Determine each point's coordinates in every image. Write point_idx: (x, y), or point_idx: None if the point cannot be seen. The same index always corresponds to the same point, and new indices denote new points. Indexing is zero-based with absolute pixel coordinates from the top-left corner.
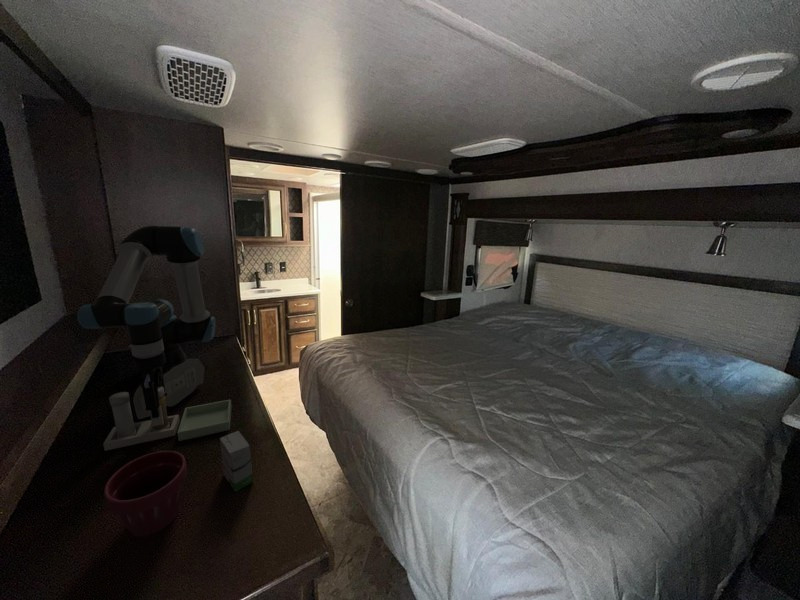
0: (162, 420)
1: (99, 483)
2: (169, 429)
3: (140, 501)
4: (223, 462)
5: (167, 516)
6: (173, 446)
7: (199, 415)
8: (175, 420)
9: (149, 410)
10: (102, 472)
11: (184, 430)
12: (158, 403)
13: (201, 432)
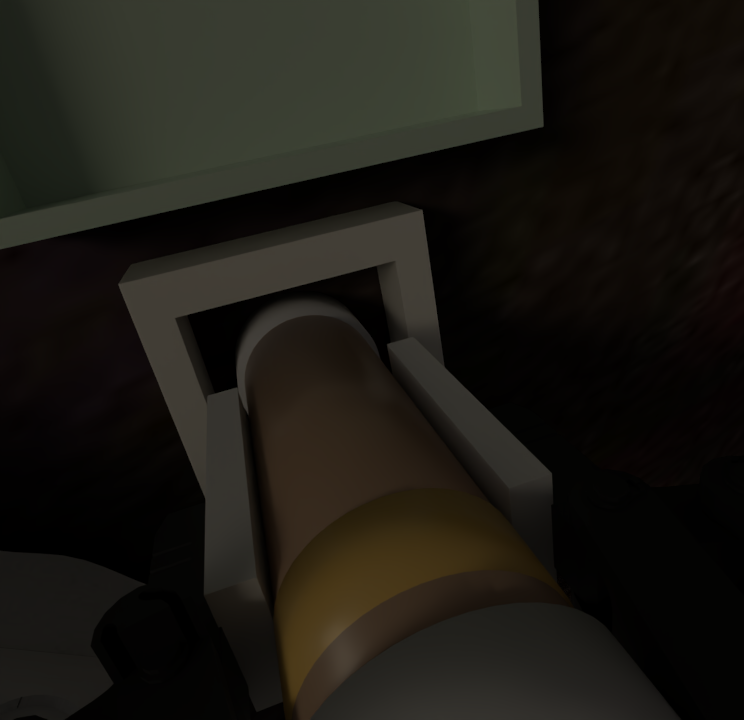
0: (431, 356)
1: (717, 430)
2: (417, 256)
3: None
4: None
5: None
6: (545, 148)
7: (46, 31)
8: (251, 268)
9: (85, 619)
10: (641, 469)
11: (527, 52)
12: (637, 525)
13: None
